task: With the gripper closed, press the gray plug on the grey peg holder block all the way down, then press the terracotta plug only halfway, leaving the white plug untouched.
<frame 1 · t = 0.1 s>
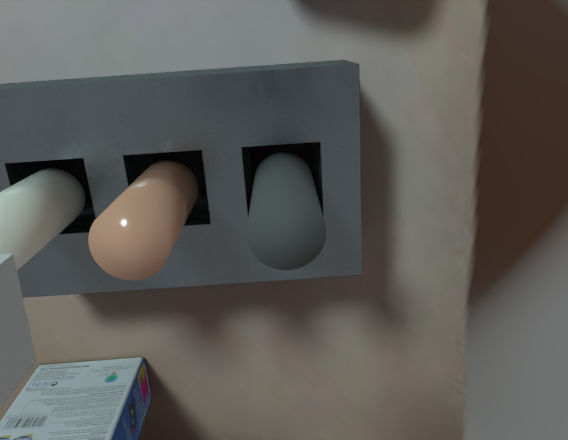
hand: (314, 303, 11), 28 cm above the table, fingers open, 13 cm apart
gray plug: (284, 203, 28), point 11 cm above the table, slide at 0.0 cm
grey peg holder block: (186, 165, 38), on the table
white plug: (20, 220, 28), point 11 cm above the table, slide at 0.0 cm
ink cartridge box: (97, 382, 45), on the table
terracotta plug: (152, 211, 28), point 11 cm above the table, slide at 0.0 cm
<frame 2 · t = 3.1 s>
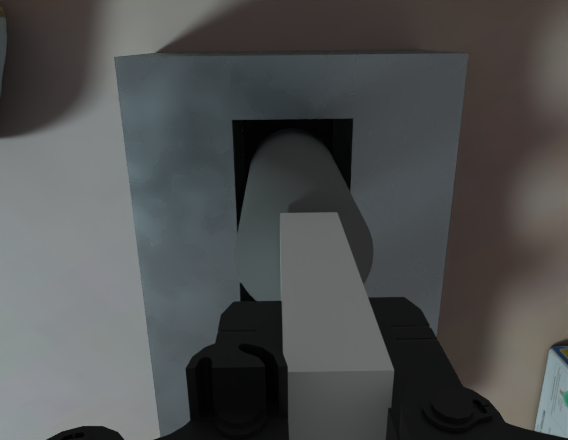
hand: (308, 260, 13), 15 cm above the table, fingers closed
gray plug: (296, 202, 18), point 10 cm above the table, slide at 0.8 cm, touching gripper
grey peg holder block: (289, 266, 30), on the table
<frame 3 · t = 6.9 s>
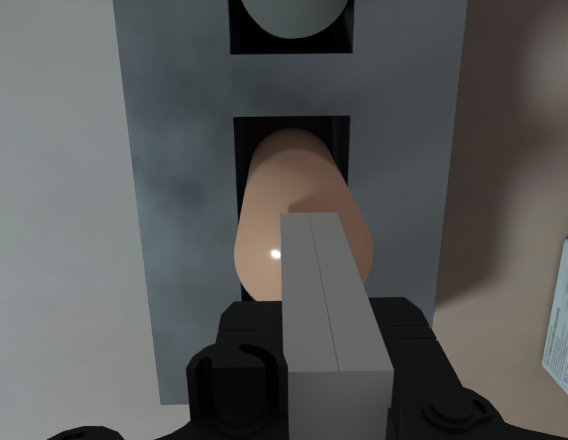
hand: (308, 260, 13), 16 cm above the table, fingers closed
grey peg holder block: (287, 142, 28), on the table
terracotta plug: (296, 202, 18), point 11 cm above the table, slide at 0.1 cm, touching gripper
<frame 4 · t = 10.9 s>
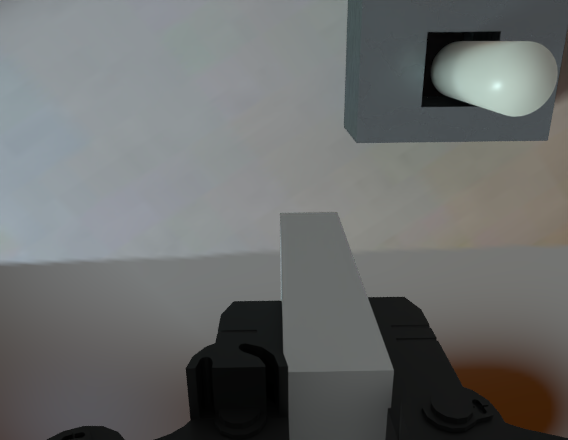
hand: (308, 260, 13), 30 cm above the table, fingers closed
white plug: (484, 74, 30), point 11 cm above the table, slide at 0.0 cm
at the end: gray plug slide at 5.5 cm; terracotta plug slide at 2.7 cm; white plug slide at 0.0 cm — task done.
